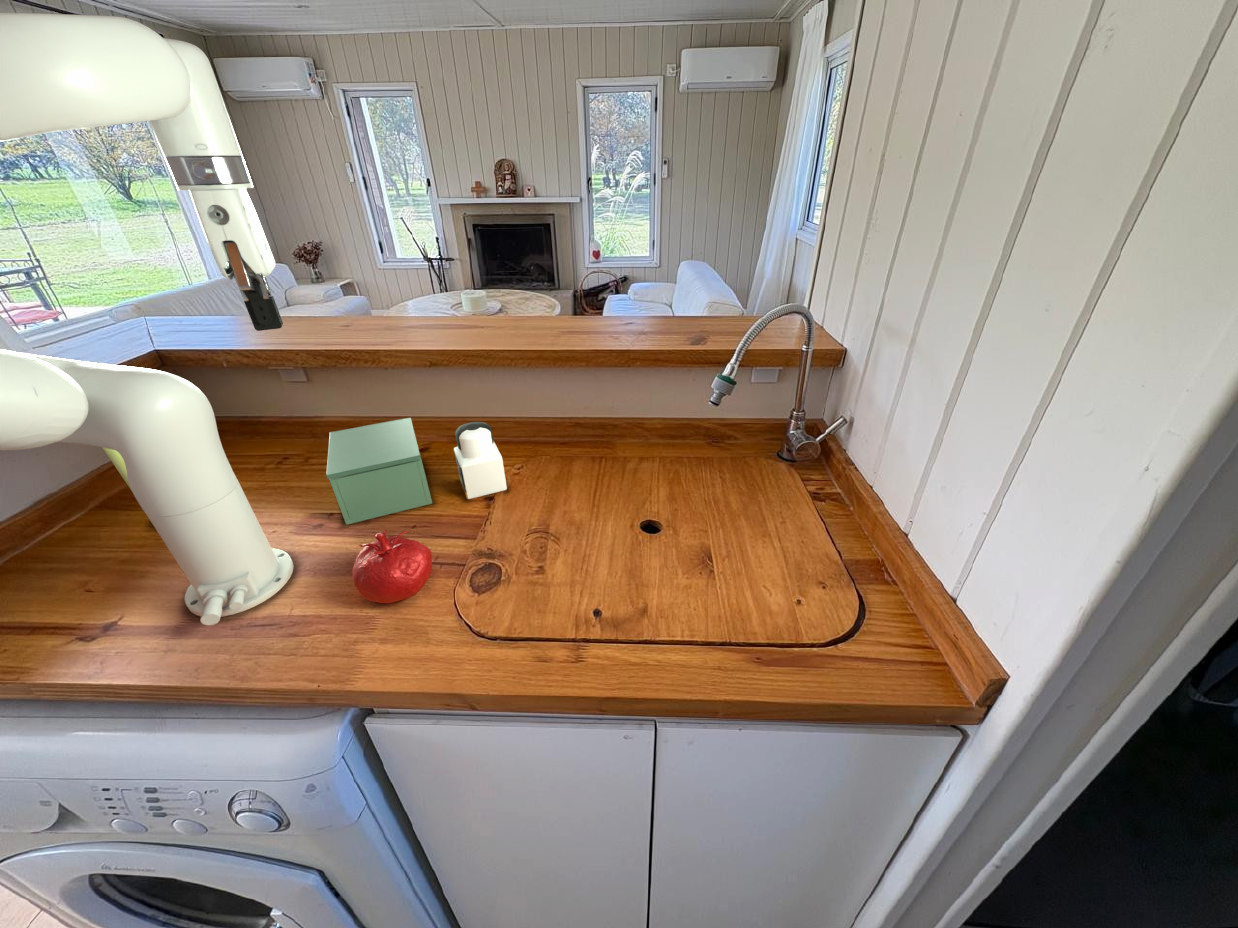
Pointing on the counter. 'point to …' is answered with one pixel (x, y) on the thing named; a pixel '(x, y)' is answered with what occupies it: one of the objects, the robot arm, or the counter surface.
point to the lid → (371, 447)
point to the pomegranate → (391, 568)
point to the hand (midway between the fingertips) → (269, 327)
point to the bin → (381, 491)
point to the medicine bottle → (479, 460)
